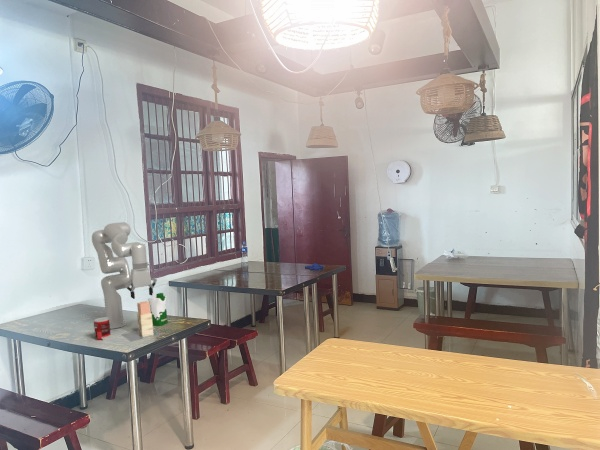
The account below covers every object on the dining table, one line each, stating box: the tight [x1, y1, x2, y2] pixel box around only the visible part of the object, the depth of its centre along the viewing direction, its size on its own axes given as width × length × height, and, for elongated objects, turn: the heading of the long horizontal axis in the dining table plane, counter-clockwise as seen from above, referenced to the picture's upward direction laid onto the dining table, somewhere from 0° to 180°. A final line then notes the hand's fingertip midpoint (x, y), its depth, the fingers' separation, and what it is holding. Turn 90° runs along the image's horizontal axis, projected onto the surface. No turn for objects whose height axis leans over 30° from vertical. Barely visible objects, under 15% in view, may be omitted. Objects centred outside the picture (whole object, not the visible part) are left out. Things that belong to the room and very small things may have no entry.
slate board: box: [121, 329, 161, 343], centre depth 242 cm, size 18×16×2 cm
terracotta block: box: [136, 300, 151, 315], centre depth 240 cm, size 5×5×6 cm
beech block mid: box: [136, 312, 153, 326], centre depth 240 cm, size 6×6×6 cm
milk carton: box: [147, 292, 169, 327], centre depth 260 cm, size 9×9×20 cm
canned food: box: [93, 316, 111, 341], centre depth 245 cm, size 8×8×11 cm
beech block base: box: [137, 324, 154, 337], centre depth 241 cm, size 6×6×6 cm
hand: (142, 296), depth 240 cm, fingers open, 9 cm apart
